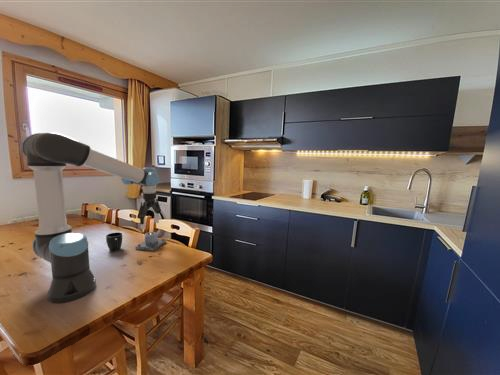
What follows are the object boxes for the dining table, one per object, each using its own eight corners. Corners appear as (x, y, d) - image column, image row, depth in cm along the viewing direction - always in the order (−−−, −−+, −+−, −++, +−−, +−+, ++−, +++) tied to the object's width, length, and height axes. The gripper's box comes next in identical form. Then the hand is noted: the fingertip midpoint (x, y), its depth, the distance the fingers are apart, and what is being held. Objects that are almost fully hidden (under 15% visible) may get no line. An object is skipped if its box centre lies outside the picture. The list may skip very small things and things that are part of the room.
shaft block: (153, 251, 125) (153, 238, 124) (135, 249, 127) (134, 236, 126) (166, 242, 139) (165, 230, 138) (149, 240, 141) (149, 229, 140)
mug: (108, 256, 117) (106, 240, 116) (106, 248, 127) (105, 233, 126) (124, 252, 122) (123, 237, 121) (122, 245, 132) (121, 231, 131)
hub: (153, 245, 129) (152, 236, 128) (142, 244, 130) (142, 235, 129) (159, 241, 136) (159, 232, 135) (149, 240, 137) (149, 231, 136)
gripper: (141, 195, 116) (142, 232, 118) (166, 190, 140) (166, 221, 143) (129, 194, 117) (130, 231, 119) (156, 190, 141) (156, 220, 144)
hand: (150, 225), depth 131 cm, fingers open, 13 cm apart
